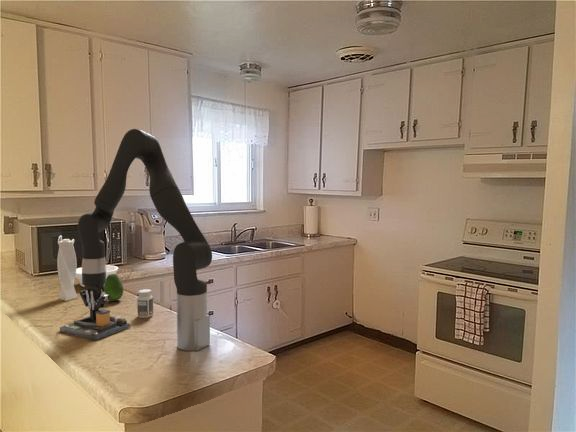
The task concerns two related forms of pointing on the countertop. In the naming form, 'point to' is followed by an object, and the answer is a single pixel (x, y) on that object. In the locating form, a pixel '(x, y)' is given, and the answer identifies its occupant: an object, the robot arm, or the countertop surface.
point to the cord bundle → (118, 320)
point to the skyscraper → (66, 269)
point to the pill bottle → (145, 303)
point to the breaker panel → (92, 329)
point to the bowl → (109, 271)
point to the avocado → (113, 287)
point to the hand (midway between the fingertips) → (94, 319)
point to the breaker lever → (102, 317)
